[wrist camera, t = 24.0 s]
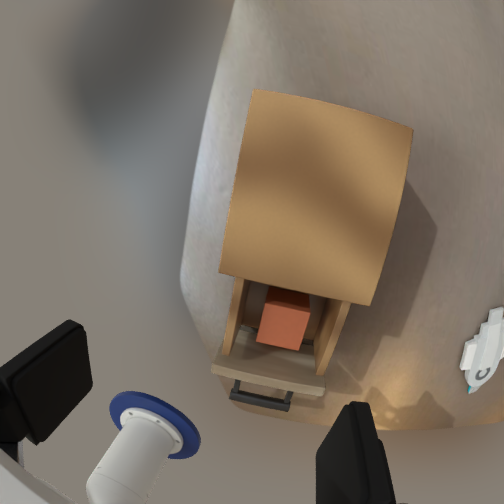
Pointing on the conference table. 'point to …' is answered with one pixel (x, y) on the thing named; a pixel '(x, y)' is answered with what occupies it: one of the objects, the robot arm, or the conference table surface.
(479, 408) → the conference table surface
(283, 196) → the cabinet
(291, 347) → the block
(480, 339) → the toy rocket
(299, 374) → the drawer
